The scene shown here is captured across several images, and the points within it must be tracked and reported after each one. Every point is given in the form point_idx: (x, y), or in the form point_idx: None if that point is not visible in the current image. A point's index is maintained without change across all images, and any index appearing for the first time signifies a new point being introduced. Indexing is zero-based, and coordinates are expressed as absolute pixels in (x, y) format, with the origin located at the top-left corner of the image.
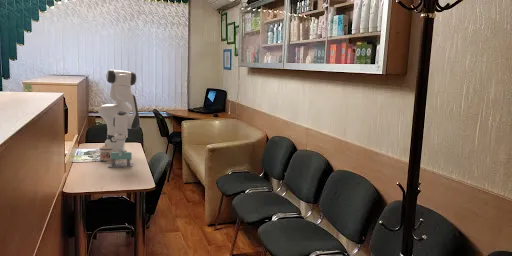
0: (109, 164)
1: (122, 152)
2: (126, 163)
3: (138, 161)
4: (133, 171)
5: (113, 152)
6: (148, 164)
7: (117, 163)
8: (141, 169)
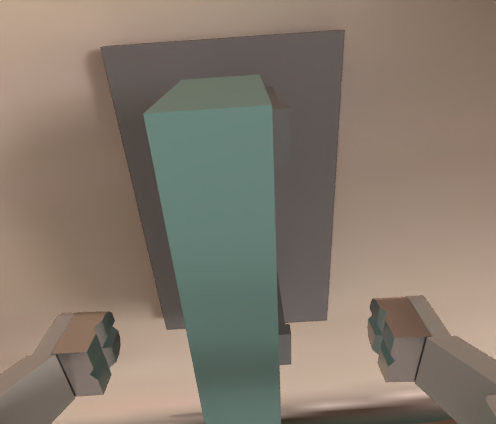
0: (247, 39)
1: (228, 378)
2: (313, 260)
3: (461, 336)
4: (29, 339)
5: (197, 197)
6: (321, 410)
7: (316, 155)
8: (125, 384)
